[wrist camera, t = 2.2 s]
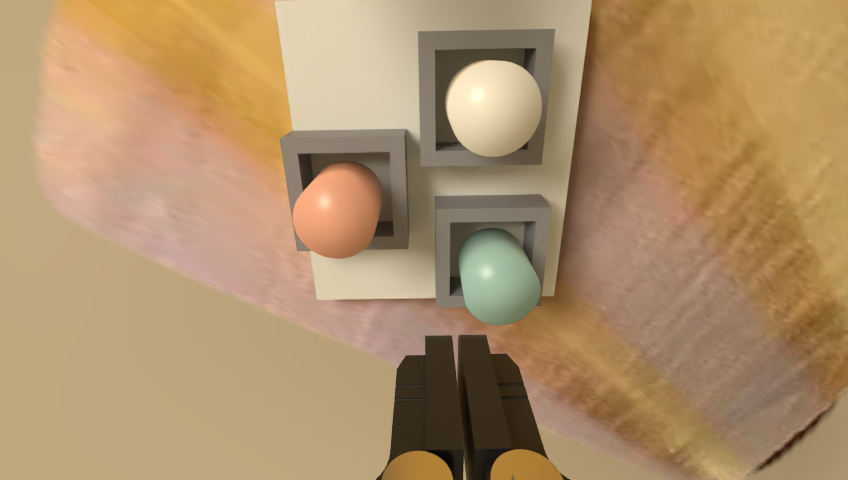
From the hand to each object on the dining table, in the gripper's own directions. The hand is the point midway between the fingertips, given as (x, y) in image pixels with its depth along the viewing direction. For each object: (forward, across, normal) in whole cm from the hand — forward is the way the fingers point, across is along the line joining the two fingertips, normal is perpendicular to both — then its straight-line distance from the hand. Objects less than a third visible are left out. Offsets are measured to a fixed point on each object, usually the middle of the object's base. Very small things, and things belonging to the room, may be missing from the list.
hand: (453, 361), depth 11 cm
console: (+23, 0, 0) cm, 23 cm away
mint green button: (+18, -4, +6) cm, 20 cm away
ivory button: (+18, -3, -5) cm, 19 cm away
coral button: (+18, +6, +1) cm, 19 cm away
